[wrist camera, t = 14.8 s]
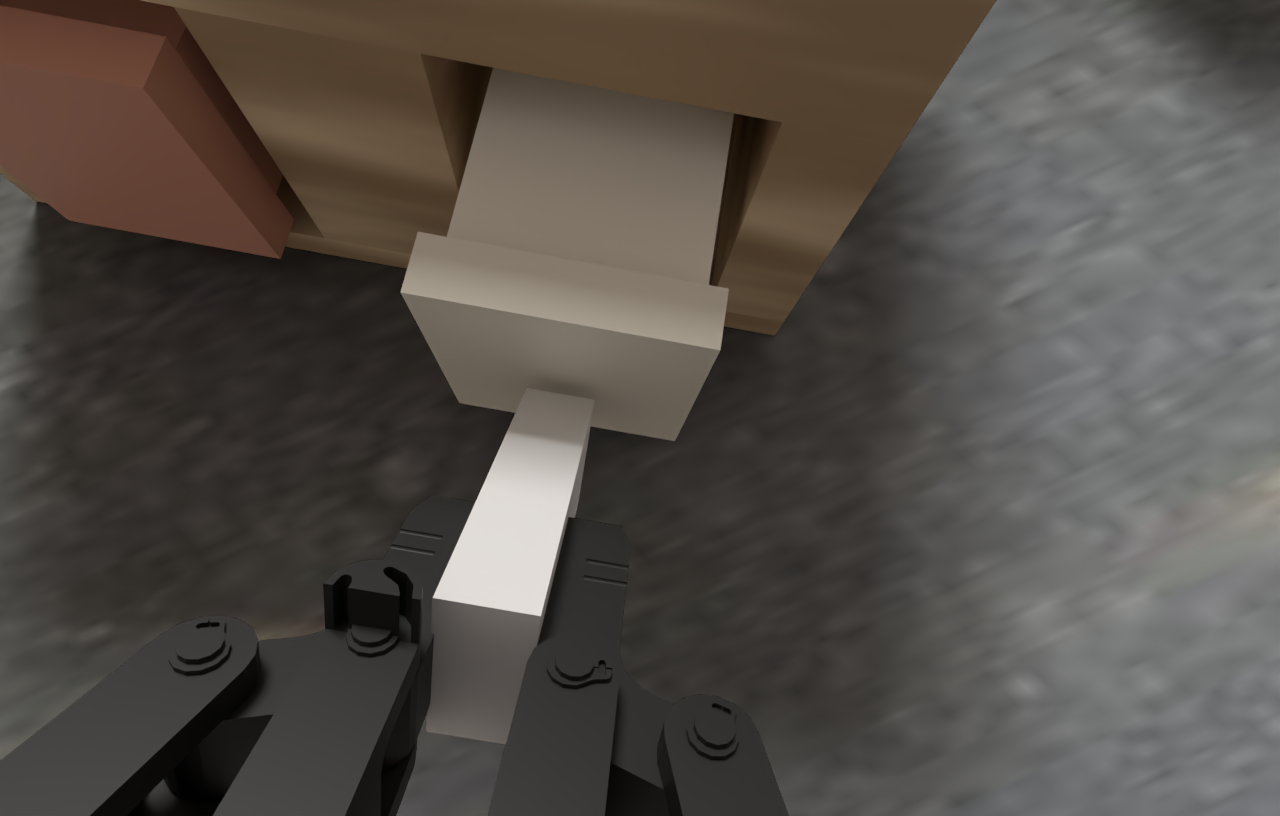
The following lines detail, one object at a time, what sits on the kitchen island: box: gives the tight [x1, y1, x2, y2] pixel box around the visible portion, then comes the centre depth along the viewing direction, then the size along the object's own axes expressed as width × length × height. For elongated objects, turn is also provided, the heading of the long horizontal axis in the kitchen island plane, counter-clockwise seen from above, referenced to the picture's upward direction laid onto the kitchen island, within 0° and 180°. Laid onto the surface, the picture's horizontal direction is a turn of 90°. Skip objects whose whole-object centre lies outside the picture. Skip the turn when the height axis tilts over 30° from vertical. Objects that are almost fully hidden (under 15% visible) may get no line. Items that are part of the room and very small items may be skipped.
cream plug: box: [400, 68, 734, 441], centre depth 18 cm, size 17×6×6 cm, turn 171°
